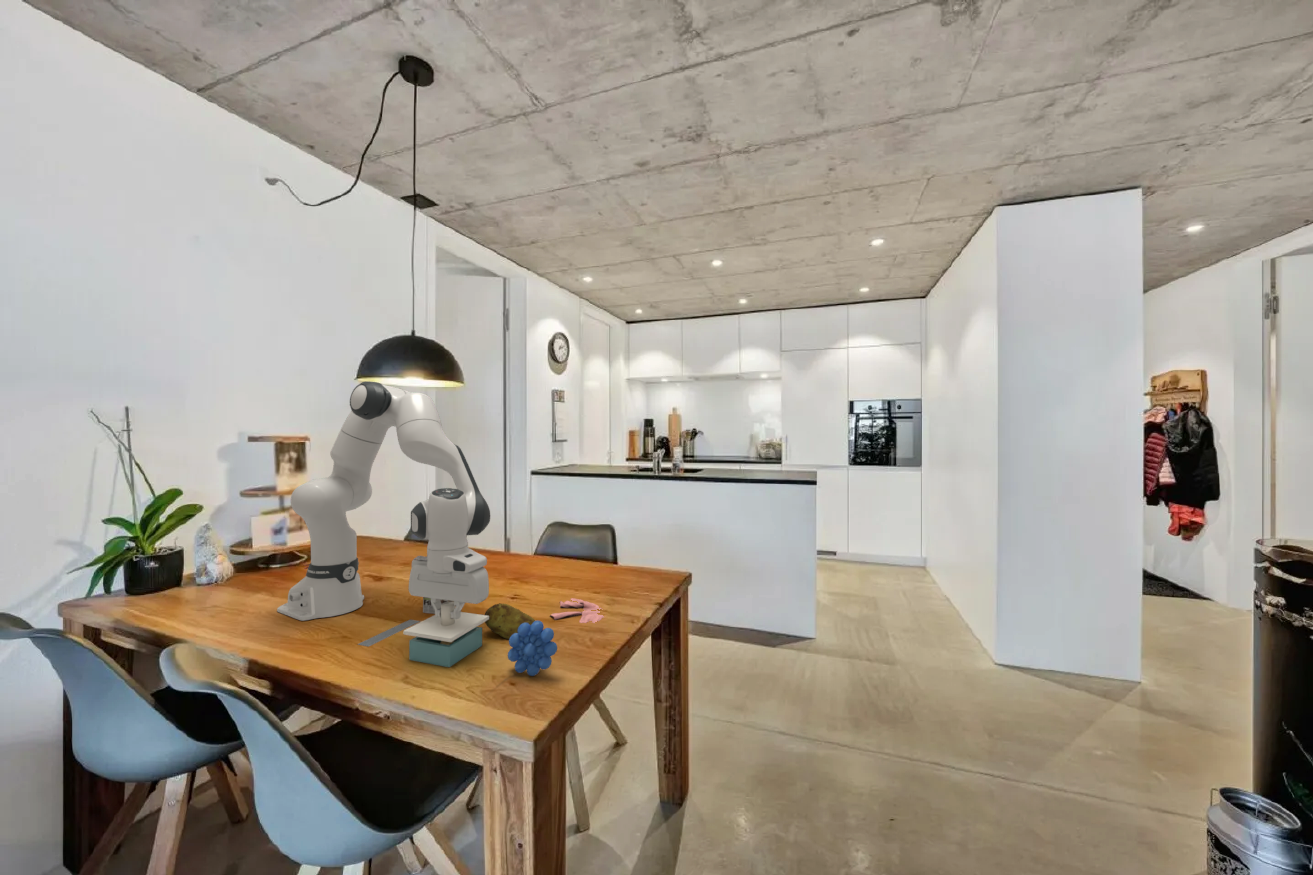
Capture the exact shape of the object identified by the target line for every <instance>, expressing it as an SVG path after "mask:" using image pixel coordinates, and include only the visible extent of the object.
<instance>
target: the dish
mask: <svg viewBox="0 0 1313 875" xmlns="http://www.w3.org/2000/svg"><path fill="white" fill-rule="evenodd" d="M408 641H409V644H408V645H409V648H408V649H409V650H408V651H409V654H408V655H409V658H408V660H409V661H414V662H420V663H424V664H429V665H435V666H440V667H444V668H451V667H452V666H454V665H455V664H457V663H458V662H460V661H461V660H463V659H464V658H465V657H467V656H469V655H470V654H472V653H473V652H475V651H476V650H478V649H479V648H481V647H482V646H483V627H481V626H477V627H475V628H474V629H472V630H470V631H469V632H467V633H465V634H464V635H462V636H460V637H459V638H457V639H455V640H454V642H453V643H452V644H450V645H445V644H440V643H441V640H435V639H429V638H423V637H416V636H414V637H413V638H411V639H409V640H408Z"/></svg>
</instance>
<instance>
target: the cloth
mask: <svg viewBox="0 0 1313 875" xmlns="http://www.w3.org/2000/svg"><path fill="white" fill-rule="evenodd" d="M571 600H572V601H571ZM573 601H577V602H578V603H577V602H573ZM599 607H600V606H599V605H598V604H596V603H594V602H589V601H587V600H583V599H578V598H575V597H574V598H572V597H571V598H570V600H565V601H564V602H563V601H562V600H560V601H559V608H560V609H562V608H563V609H576V608H577V609H583V610H584V611H583V610H582V611H565V612H556V613H552V614H550V615H549V617H552V619H554V621H557V620H560V619H565V618H574V617H581V618H580V619H579V621H578V622H579V624H588V623H590V622H589V621H592V622H591V623H592V624H596V623H595V622H597V621H598V622H599V621H601V620H602V618H603V619H604V618H605V617H604V616H603V615H598V614H597V613H600V611H598V610H597V609H599V610H600V609H602V607H600V608H599ZM591 610H596V611H591ZM581 615H582V616H581ZM587 622H588V623H587ZM598 622H597V623H598Z"/></svg>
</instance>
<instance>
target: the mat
mask: <svg viewBox="0 0 1313 875" xmlns="http://www.w3.org/2000/svg"><path fill="white" fill-rule="evenodd" d="M420 622H421V620H415V619H409V620H406V621H403V622H401V623H400V624H398V625H395V626H392V627H390V628H388V629H387V630H385V631H384V630H383V631H382V632H381V633H378V634H376V635H374V636H371V637H370V638H368V639H365V640H363V641H362V642H359V643H357V644H356V645H358V646H364V647H368V648H369V647H371V646H373V645H375V644H377V643H379V642H382V641H384V640H385V639H387V638H390V637H392V636H393V635H395V634H397V633H399V632H403V631H404V630H406V629H408V628H410V627H412V626H414V625H416V624H418V623H420Z"/></svg>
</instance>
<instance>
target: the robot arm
mask: <svg viewBox="0 0 1313 875" xmlns="http://www.w3.org/2000/svg"><path fill="white" fill-rule="evenodd" d="M349 406H350V410H351V411H350V412H349V414H348V416H347V417H346V419H345V420H344V422H343V424H342V427H341V428H340V431H339V432H338V435H337V437H336V439H335V441H334V443H333V446H332V448H331V450H330V457H331V460H333V467H332V472H331V474H330V475H329V476H328V477H323V478H315V479H312V480H309V481H306V482H305V483H302V484H300V485H298V486H296V488H295V489H294V490H293V491H292V493H291V495H290V506H291V508H292V510H293V511H294V513H295V514H296V515H298V516H299V517H301V519H303V521H304V522H305V525H306V527H307V530H308V533H309V539H310V563H308V564H305V565H303V566H305V567H304V568H303V569H304V570H306V569H307V570H306V573H305V576H304V577H303V578H302V579H301V580H300V581H299V582H297V583H296V584H295V585H293V586H291V588H290V589H289V591H288V594H287V602H286V603H284V604H281V605H280V606H278V607H277V609H276V611H277V612H278V613H279V614H282V615H285V616H288V617H290V618H293V619H295V620H299V621H301V622H302V621H304V622H305V621H309V620H313V619H320V618H330V617H335V616H340V615H344V614H347V613H350V612H353V611H355V610H358V609H359V608H361V607H362V606H363V604H364V602H363V601H364V599H365V595H364V594H362V585H361V576H360V574H359V572H358V571H359V564H360V562H359V558H358V557H357V554H358V553H357V552H358V551H357V548H358V547H357V532H356V530H355V529H354V528H352V527H351V526H350V524H349V521H348V519H347V512H349V511H353V510H356V509H357V508H360V507H362V506H363V505H365V504H366V503H367V502H368V501H369V500H370V499H371V497H372V494H373V487H372V484H371V482H370V480H371V471H372V468H373V464H374V462H375V460H376V457H377V455H378V453H379V450H380V449H381V446H382V444H383V442H384V441H385V440H384V439H385V437H386V435H387V433H388V430H389V429H390V428H391V427H395V430H396V434H397V435H396V436H397V442H398V445H399V448H400V450H401V452H402V453H403V454H404V455H405V456H406V457H407V458H408V459H411V460H412V461H414V462H417V463H419V464H424V465H428V466H432V467H436V468H438V469H441V470H443V471H445V472H446V473H448V474H449V475H450V476H451V478H452V480H453V483H454V485H455V487H456V488H452V487H446V488H445V487H442V488H437V489H434V490H433V491H431V492H430V494H429V496H428V499H427V500H424V501H419V502H418V503H417V504H416V505H414V507H413V508H412V509H411V511H410V532H411V533H412V534H413V535H414V536H416V537H417V538H418V539H421V540H428V543H427V546H426V555H425V556H423V555H417V556H416V557H414V558H413V560H412V561H411V570H410V574H409V580H408V592H409V595H411V596H414V597H420V598H421V597H422V598H423V597H428V598H431V604H432V606H433V608H434V609H435V614H434V615H435V616H436V617H441V601H440V600H442V599H443V600H450V601H454V605H456V606H455V609H454V611H451V612H450V615H451V616H450V618H451V619H456V620H457V619H459V618H460V617H461V612H462V609H463V608H464V606H465V604H466V603H468V604H473V605H474V604H475V605H477V604H481V603H482V602H483V601H486V600H487V598H488V597H489V593H490V592H489V590H490V588H489V587H490V586H489V585H490V583H489V573H488V571H487V569H486V568H485V567H486V566H487V564H488V563H487V562H488V559H487V556H485V555H483V554H480V553H478V552H477V551H475V550H473V549H471V548H469V541H468V540H469V539H468V538H467V536H477V535H480V534H481V533H482V532H483V531H485V529H486V528H487V527H488V525H489V524H490V522H491V509H490V507H489V504H488V502H487V501H486V499H485V497H484V496H483V495H482V493H481V491H480V488H479V487H478V484H477V482H476V480H475V477H474V475H473V472H472V470H471V468H470V466H469V463H468V460H467V458H466V457H465V455H464V453H463V450H462V448H460V446H459V445H457V444H455V443H453V442H452V441H451V439H449V438H448V436H447V435H446V433H445V431H444V429H443V426H442V420H441V418H440V414H439V412H438V409H437V406H436V405H435V402H434V400H433V399H432V398H431V397H430V396H429V395H428V394H425V393H422V392H412V391H409V390H406V389H403V388H401V387H399V388H398V387H395V386H391V385H386V384H382V383H381V382H377V381H370V380H368V381H363V382H361V383H359V384H358V385H356V386H355V387H354V389H352V392H351V394H350V398H349Z"/></svg>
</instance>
